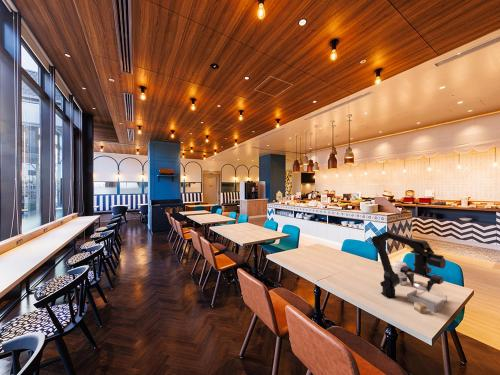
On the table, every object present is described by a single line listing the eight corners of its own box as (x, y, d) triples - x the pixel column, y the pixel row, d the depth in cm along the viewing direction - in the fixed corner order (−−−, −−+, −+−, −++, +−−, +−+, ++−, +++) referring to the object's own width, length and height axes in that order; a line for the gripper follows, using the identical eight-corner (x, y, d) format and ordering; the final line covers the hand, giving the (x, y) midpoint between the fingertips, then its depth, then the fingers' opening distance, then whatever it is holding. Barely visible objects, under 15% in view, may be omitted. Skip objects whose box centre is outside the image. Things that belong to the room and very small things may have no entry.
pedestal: (420, 313, 117) (420, 306, 117) (414, 309, 121) (414, 302, 121) (426, 313, 117) (426, 306, 117) (420, 308, 121) (420, 302, 121)
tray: (439, 306, 122) (439, 301, 122) (415, 297, 133) (415, 291, 133) (447, 301, 128) (447, 295, 128) (423, 292, 139) (423, 287, 139)
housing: (435, 312, 118) (435, 305, 117) (407, 300, 130) (407, 294, 130) (443, 306, 123) (443, 299, 123) (416, 295, 136) (416, 289, 136)
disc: (420, 290, 115) (420, 287, 115) (409, 284, 122) (409, 281, 122) (432, 290, 115) (432, 286, 115) (420, 284, 122) (420, 280, 122)
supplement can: (391, 279, 158) (391, 260, 158) (404, 281, 156) (404, 261, 155) (395, 284, 150) (396, 264, 150) (409, 286, 148) (409, 265, 148)
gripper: (447, 265, 114) (447, 292, 114) (408, 255, 131) (408, 279, 131) (439, 269, 109) (439, 298, 109) (399, 258, 125) (399, 283, 125)
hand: (420, 289), depth 119 cm, fingers closed on disc, 7 cm apart
